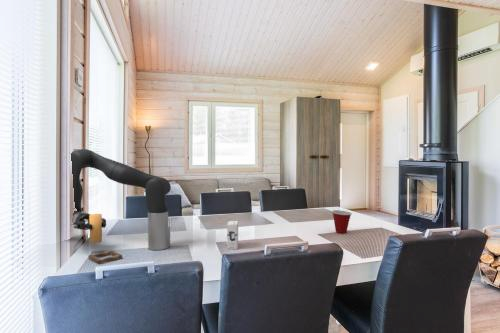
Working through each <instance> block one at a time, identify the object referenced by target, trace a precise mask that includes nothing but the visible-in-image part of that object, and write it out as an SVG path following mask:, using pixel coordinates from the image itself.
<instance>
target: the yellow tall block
mask: <svg viewBox="0 0 500 333" xmlns="http://www.w3.org/2000/svg"><path fill="white" fill-rule="evenodd" d="M90 214H91V213H90ZM102 218H103V215H102V214H101V213H92V214H91V215H89V222H90V224H91V225H92V226H93V229H92V230H89V243H90V244H95V243H101V242H102V241H103V227H102Z"/></svg>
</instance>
